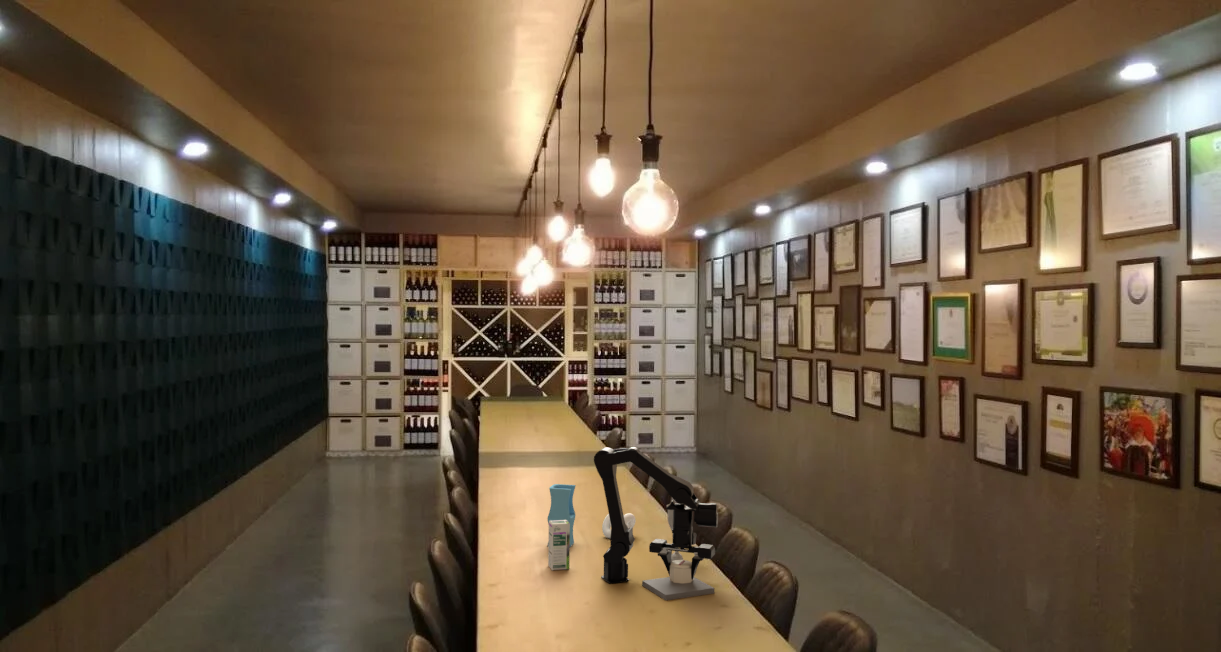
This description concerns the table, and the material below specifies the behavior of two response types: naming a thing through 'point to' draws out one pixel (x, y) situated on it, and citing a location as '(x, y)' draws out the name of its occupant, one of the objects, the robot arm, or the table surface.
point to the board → (677, 588)
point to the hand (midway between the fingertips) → (681, 577)
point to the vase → (562, 505)
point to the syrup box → (559, 544)
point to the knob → (680, 571)
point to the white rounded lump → (606, 525)
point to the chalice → (676, 554)
